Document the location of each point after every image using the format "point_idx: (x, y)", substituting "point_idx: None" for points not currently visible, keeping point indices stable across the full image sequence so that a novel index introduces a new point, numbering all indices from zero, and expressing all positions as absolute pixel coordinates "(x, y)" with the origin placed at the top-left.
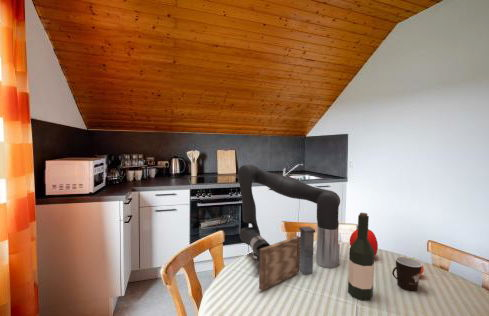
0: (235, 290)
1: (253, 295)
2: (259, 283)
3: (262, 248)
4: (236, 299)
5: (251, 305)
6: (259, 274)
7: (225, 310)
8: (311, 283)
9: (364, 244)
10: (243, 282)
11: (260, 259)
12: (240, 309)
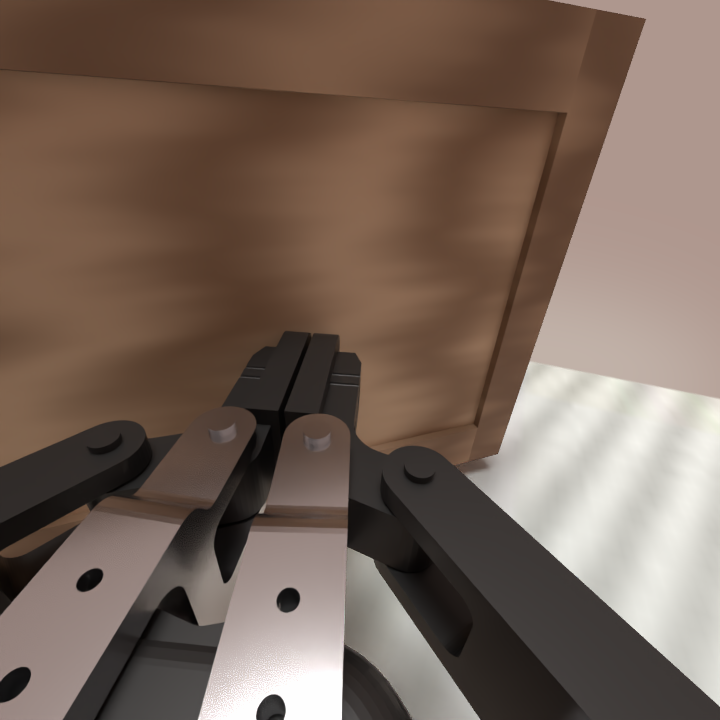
0: (714, 538)
1: (538, 444)
2: (506, 419)
3: (604, 15)
4: (659, 445)
5: (550, 388)
6: (530, 352)
7: (693, 397)
8: None
9: None
10: (674, 658)
11: (576, 185)
12: (608, 384)
